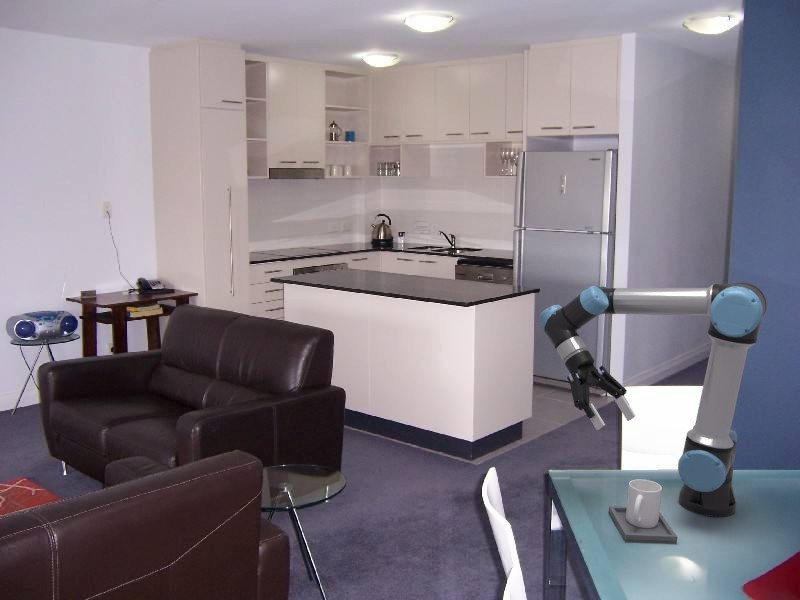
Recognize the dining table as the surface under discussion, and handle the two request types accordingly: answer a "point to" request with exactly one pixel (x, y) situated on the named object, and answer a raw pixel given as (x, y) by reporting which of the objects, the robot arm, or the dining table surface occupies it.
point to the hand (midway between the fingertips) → (616, 423)
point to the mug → (643, 503)
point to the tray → (642, 529)
